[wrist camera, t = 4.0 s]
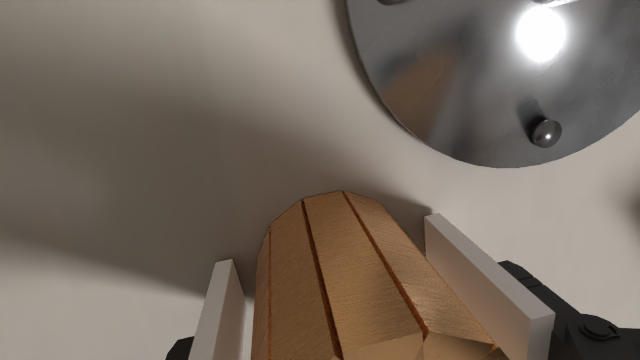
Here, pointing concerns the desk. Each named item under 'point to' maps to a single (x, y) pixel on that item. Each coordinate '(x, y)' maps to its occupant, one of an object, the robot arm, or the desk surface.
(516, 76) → the flange
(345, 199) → the wooden stave tube
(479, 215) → the desk surface
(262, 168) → the desk surface
